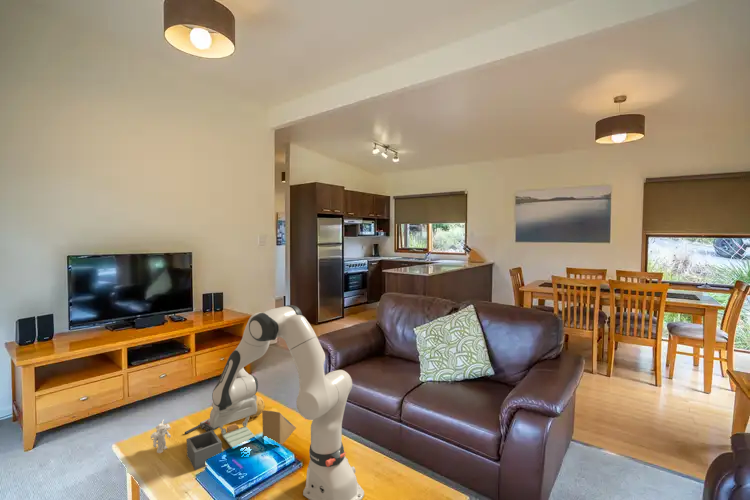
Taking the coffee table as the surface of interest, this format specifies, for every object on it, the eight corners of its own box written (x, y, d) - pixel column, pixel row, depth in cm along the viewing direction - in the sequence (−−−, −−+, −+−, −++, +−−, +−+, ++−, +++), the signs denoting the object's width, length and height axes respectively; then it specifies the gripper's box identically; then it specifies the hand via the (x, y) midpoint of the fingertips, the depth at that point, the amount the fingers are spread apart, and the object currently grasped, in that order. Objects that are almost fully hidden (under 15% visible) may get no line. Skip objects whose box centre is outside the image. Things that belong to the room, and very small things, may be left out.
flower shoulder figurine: (166, 443, 151) (165, 416, 150) (173, 444, 150) (173, 417, 150) (148, 456, 142) (148, 427, 141) (157, 457, 141) (156, 428, 141)
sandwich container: (297, 427, 163) (296, 396, 163) (280, 447, 149) (280, 412, 148) (280, 425, 166) (280, 394, 165) (262, 444, 151) (262, 410, 150)
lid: (256, 442, 152) (256, 436, 152) (232, 451, 145) (232, 445, 145) (242, 426, 164) (242, 420, 164) (219, 434, 157) (219, 429, 157)
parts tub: (222, 459, 140) (221, 442, 140) (195, 470, 134) (194, 452, 133) (212, 445, 149) (212, 429, 149) (187, 455, 142) (186, 438, 142)
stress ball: (249, 413, 178) (235, 407, 171) (261, 395, 181) (248, 389, 175) (259, 423, 171) (245, 417, 165) (272, 405, 175) (258, 398, 168)
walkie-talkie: (223, 415, 175) (183, 435, 158) (222, 407, 174) (183, 425, 157) (234, 420, 170) (194, 441, 153) (234, 411, 170) (194, 431, 153)
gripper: (253, 390, 166) (254, 418, 167) (208, 404, 152) (208, 435, 153) (259, 394, 161) (259, 424, 162) (212, 409, 148) (213, 441, 148)
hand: (234, 429), depth 157 cm, fingers open, 8 cm apart
